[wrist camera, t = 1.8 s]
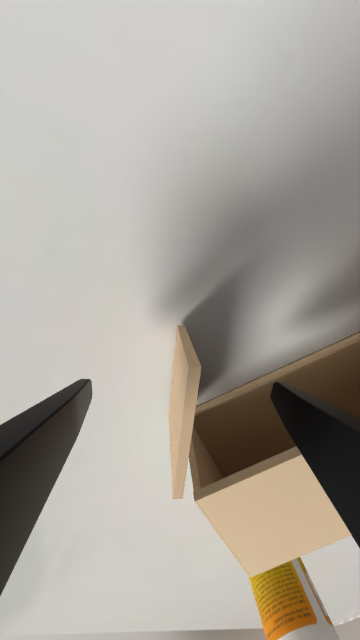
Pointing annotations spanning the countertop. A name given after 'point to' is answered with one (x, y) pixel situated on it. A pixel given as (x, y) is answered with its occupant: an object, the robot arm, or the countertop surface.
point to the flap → (182, 407)
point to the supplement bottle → (291, 604)
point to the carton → (270, 463)
